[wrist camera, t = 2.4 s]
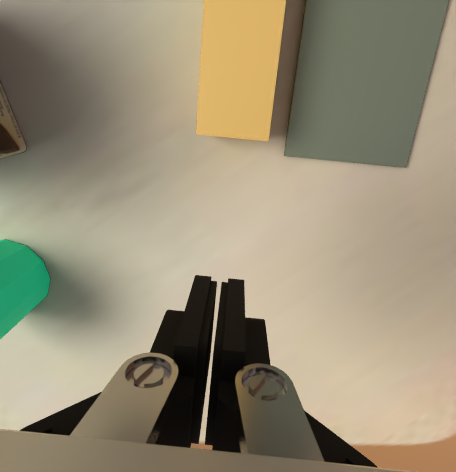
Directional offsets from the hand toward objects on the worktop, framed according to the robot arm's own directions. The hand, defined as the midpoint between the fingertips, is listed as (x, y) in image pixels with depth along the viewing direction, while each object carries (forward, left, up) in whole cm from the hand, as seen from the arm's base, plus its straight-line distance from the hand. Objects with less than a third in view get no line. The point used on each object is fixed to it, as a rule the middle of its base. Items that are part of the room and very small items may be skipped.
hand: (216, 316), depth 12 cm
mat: (-13, +7, -13) cm, 20 cm away
